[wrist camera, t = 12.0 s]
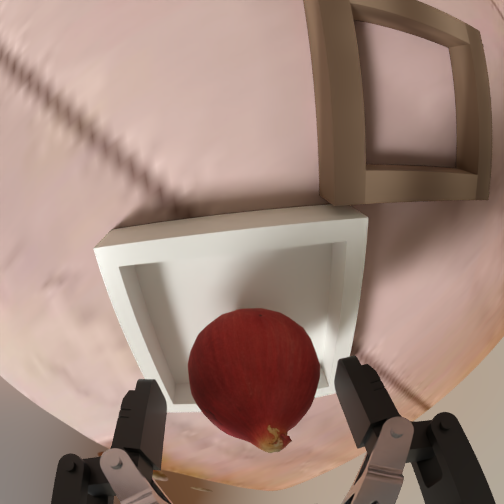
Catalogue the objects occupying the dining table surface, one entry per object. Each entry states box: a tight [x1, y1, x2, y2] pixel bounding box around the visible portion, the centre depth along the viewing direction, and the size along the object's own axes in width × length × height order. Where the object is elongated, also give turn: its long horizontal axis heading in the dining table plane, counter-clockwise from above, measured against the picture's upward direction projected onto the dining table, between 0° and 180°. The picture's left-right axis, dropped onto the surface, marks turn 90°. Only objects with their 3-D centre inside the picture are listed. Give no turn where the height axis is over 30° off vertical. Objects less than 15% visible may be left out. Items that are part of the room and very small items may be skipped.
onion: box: [188, 308, 320, 453], centre depth 11 cm, size 6×6×8 cm
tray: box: [93, 204, 368, 412], centre depth 15 cm, size 12×12×2 cm
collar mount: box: [303, 0, 492, 206], centre depth 10 cm, size 11×11×2 cm
